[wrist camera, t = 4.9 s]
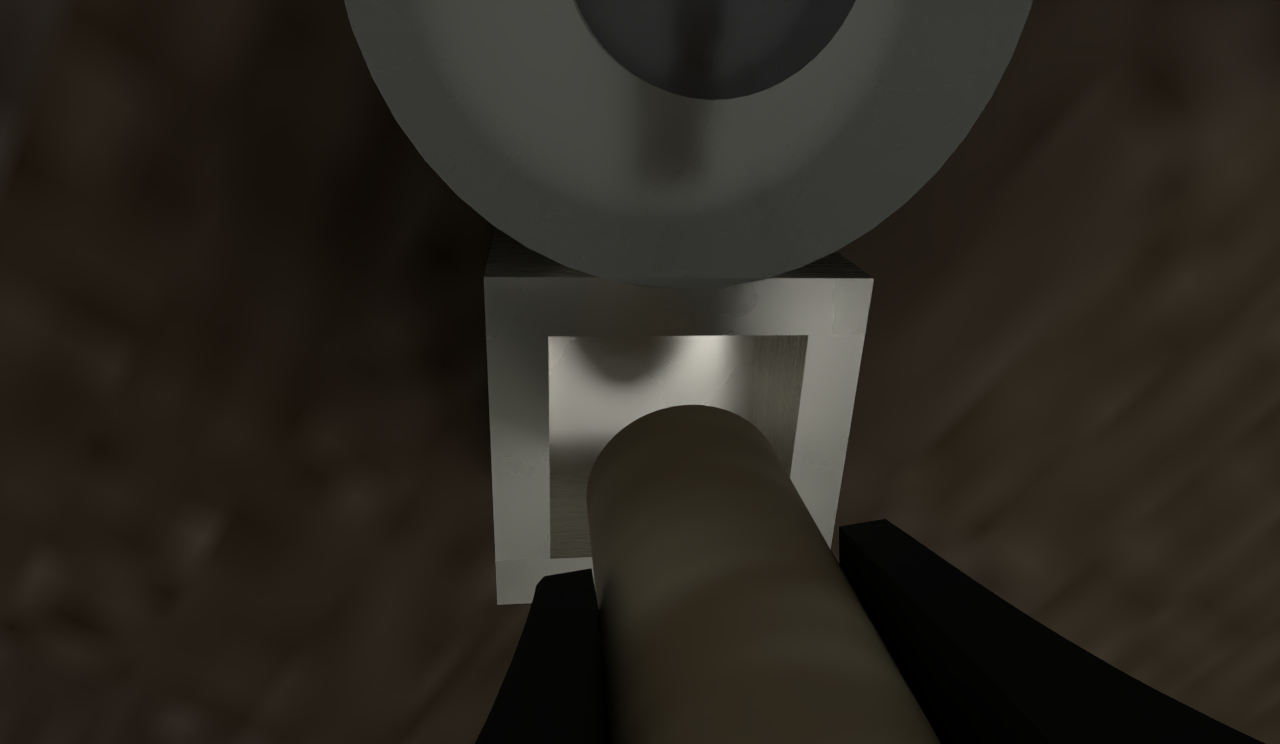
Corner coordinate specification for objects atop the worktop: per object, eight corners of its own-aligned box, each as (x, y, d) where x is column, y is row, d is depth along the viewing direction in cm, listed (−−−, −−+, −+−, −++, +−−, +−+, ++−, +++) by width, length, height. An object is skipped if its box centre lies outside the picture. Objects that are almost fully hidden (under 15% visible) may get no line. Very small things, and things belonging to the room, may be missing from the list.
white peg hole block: (353, -424, 12) (237, -711, 7) (974, -357, 13) (1208, -566, 8) (427, 494, 18) (389, 647, 14) (840, 481, 19) (932, 618, 15)
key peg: (775, 389, 12) (1133, 921, 5) (785, 556, 13) (1079, 1176, 6) (571, 423, 12) (623, 1026, 5) (601, 589, 13) (678, 1266, 6)
